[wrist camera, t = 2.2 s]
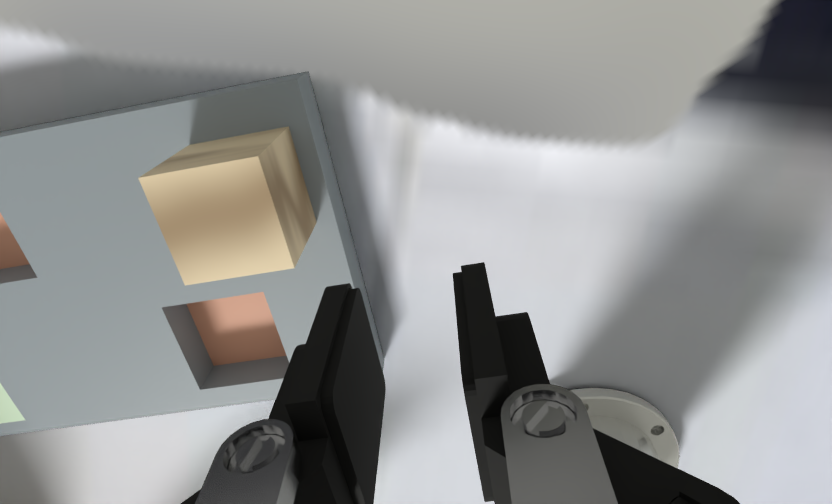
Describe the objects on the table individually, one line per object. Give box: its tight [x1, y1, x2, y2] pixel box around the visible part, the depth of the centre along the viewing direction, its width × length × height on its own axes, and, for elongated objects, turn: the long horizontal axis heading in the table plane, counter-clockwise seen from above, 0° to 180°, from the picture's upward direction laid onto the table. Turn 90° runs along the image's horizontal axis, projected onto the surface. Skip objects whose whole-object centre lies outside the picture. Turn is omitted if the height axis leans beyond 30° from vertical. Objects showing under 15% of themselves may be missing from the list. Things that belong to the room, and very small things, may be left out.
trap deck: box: [0, 72, 384, 436], centre depth 30 cm, size 18×29×4 cm, turn 101°
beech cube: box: [138, 126, 317, 286], centre depth 24 cm, size 5×5×5 cm
